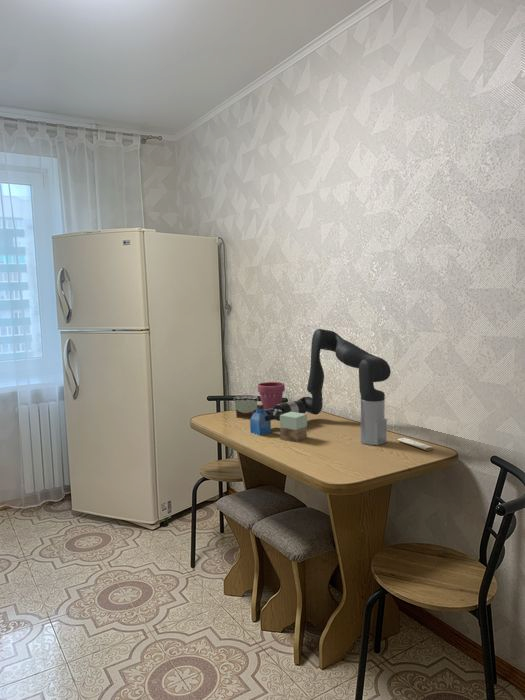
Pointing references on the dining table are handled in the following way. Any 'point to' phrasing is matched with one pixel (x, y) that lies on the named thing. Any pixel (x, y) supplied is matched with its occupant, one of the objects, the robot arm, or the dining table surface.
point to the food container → (245, 405)
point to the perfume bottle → (260, 422)
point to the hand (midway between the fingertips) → (259, 417)
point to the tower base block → (293, 434)
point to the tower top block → (293, 420)
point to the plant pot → (271, 393)
